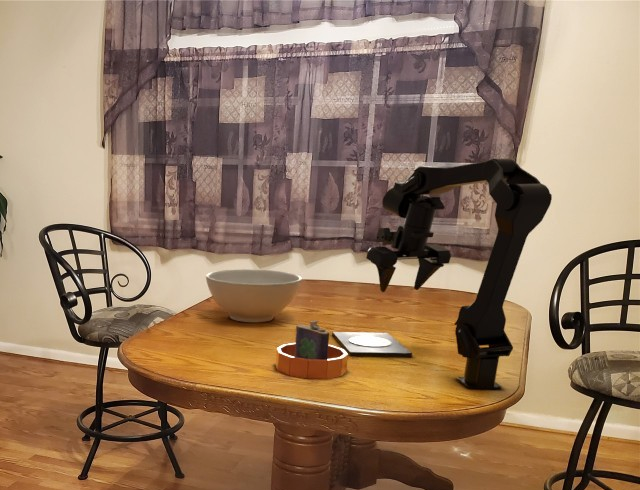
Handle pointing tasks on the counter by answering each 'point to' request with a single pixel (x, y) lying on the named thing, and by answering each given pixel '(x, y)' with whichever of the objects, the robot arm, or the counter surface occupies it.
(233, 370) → the counter surface
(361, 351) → the hob plate
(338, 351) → the orange round tray
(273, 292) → the decorative bowl
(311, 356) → the flask
